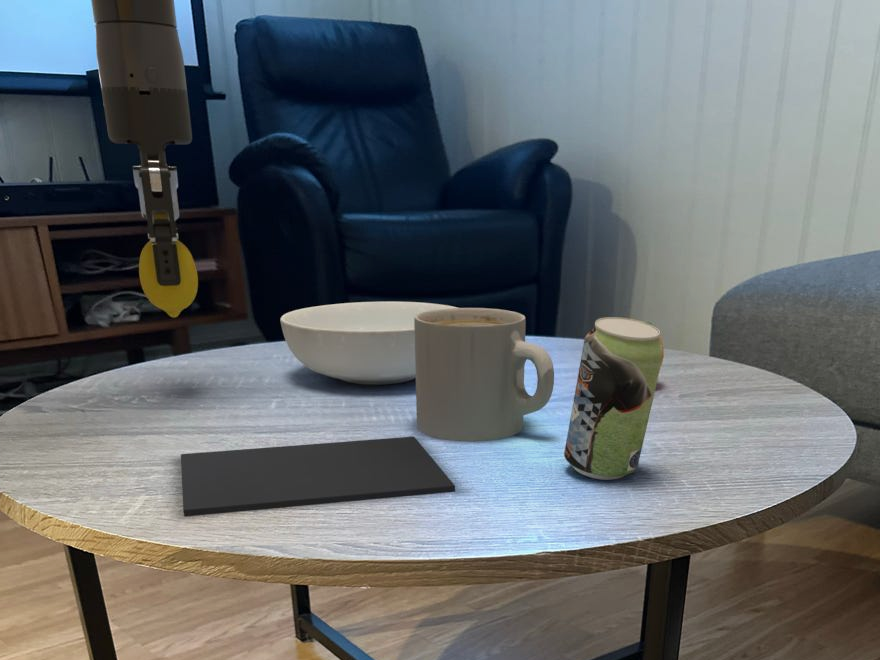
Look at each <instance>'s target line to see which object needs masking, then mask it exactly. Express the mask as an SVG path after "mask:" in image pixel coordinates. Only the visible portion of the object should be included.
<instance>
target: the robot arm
mask: <svg viewBox="0 0 880 660" xmlns="http://www.w3.org/2000/svg"><path fill="white" fill-rule="evenodd" d="M90 2H91V8H92V15H93V21H94V22H93V23H95V25H94V28H95V53H96V54H95V55H96V61H97V69H98V75H99V82H100V88H101V89H100V90H101V96H102V102H103V108H104V110H103V111H104V115H105V123H106V129H107V136H108V139H109V140H110V141H111V142H112V143H114V144H133V145H136V147H137V148H138V150H139V156H140V157H139V158H140V165H132V172H133V173H132V175H133V180H134V186H135V188H136V189H137V192H138V196H139V197H138V199H139V207H140V213H141V217H142V218H143V219H144V220H146V223H147V227H146V233H147V239H148V240H149V241H151V243H156V244H152V246H153V254H154V261H155V269H156V276H157V282H158V284H159V285H161V286H177V285H179V284H180V283H181V277H180V269H179V261H178V253H177V245H176V244H172V243H177V240H179V231H178V227H176V226H177V220H178V219H179V218H180V209H179V199H178V192H177V189H178V188H179V179H178V171H177V166H169V165H168V164H167V158H166V147H168V146H169V145H189V144H191V143H192V141H193V130H192V123H191V114H190V113H191V112H190V105H189V96H188V87H187V77H186V69H185V62H184V61H185V60H184V54H183V50H182V46H181V41H180V38H179V31H178V24H177V17H176V16H177V15H176V7H175V6H176V5H175V0H91V1H90Z"/></svg>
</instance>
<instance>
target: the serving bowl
mask: <svg viewBox="0 0 880 660" xmlns="http://www.w3.org/2000/svg"><path fill="white" fill-rule="evenodd" d="M448 308H458V307H456V306H452V305H448V304H441V303H440V304H439V303H431V302H419V301H418V302H417V301H361V302H359V301H358V302H344V303H334V304H324V305H317V306H310V307H304V308H300V309H299V308H298V309H295V310H292V311H288V312H286V313H284V314H283V315H281V317H280V320H279V321H280V326H281V330H282V334H283V337H284V340H285V343H286V345H287V347H288V349H289V350H290V352H291V353H292V355H293V356H294V357H295V358H296V359H297V360H298V361H299V362H300V363H301V364H302V365H303V366H305V367H306V368H307V369H309V370H311V371H313V372H316V373H317V374H320V375H322V376H326V377H330V378H334V379H338V380H340V381H343V382H345V383H346V382H347V383H351V384H356V385H373V386H374V385H378V386H379V385H381V386H382V385H394V384H401V383H406V382H409V381H413V380H414V379H415V380H416V369H415V330H414V317H415V316H416V315H417V314H419V313H421V312H425V311H430V310H438V309H448Z"/></svg>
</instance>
